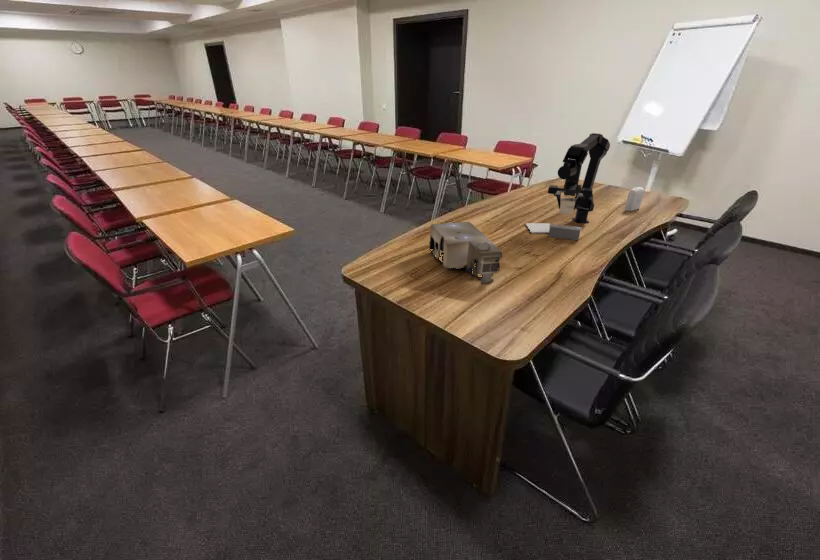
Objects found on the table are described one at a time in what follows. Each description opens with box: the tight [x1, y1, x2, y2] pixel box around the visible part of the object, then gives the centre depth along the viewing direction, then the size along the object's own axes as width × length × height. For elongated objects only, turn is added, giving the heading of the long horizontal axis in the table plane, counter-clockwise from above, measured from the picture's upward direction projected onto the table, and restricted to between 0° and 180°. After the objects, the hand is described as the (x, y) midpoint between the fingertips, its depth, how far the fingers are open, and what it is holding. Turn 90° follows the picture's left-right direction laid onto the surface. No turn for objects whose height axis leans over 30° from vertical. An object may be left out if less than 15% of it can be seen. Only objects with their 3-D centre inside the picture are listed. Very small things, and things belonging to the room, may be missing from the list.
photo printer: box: [624, 186, 645, 212], centre depth 209 cm, size 10×4×12 cm, turn 123°
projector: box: [428, 221, 503, 285], centre depth 147 cm, size 18×33×13 cm, turn 12°
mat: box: [525, 222, 551, 234], centre depth 186 cm, size 12×12×1 cm
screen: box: [548, 223, 582, 241], centre depth 174 cm, size 3×14×6 cm, turn 67°
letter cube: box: [558, 196, 576, 215], centre depth 177 cm, size 6×6×6 cm
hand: (566, 209), depth 178 cm, fingers closed on letter cube, 6 cm apart
